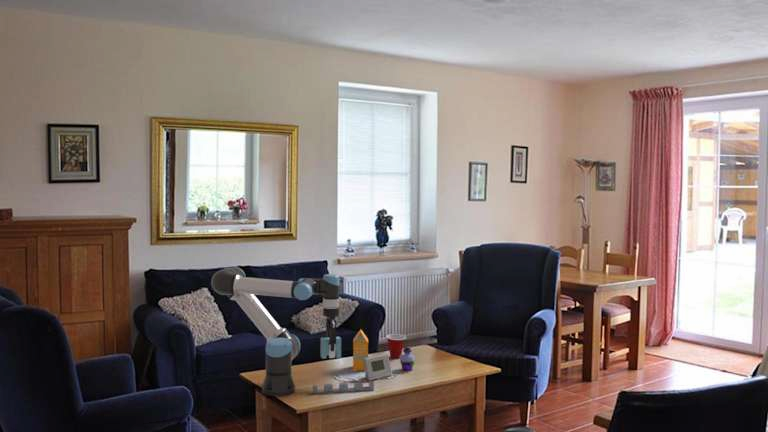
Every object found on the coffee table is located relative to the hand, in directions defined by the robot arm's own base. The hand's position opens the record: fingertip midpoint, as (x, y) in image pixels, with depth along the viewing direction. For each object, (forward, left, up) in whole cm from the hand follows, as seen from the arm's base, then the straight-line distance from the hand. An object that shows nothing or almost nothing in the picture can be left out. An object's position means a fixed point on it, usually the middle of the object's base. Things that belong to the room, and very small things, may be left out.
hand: (330, 356), depth 319 cm
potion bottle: (+43, +18, -14) cm, 49 cm away
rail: (+4, -11, -14) cm, 18 cm away
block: (0, 0, 0) cm, 0 cm away
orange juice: (+20, +25, -14) cm, 35 cm away
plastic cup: (+44, +43, -14) cm, 63 cm away
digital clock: (+25, +8, -14) cm, 30 cm away
